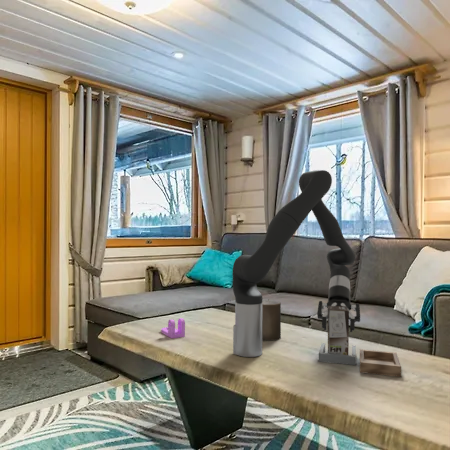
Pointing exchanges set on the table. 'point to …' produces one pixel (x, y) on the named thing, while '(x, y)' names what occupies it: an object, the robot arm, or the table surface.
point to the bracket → (171, 330)
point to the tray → (380, 363)
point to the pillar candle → (271, 320)
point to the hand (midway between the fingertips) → (338, 329)
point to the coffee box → (338, 330)
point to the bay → (337, 356)
